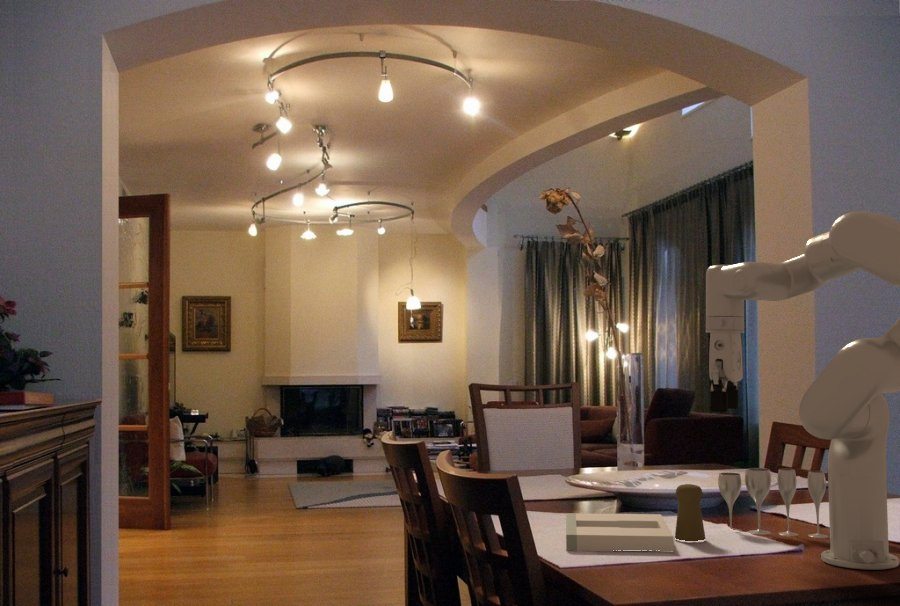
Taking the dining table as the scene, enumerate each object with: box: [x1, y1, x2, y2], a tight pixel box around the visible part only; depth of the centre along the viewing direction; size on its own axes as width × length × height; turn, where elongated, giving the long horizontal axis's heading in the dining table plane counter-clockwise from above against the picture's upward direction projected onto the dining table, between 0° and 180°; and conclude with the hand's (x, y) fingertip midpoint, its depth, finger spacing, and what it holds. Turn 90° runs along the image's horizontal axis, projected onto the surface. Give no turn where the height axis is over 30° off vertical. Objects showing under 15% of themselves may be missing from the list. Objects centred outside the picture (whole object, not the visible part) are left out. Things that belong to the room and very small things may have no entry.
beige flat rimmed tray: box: [565, 512, 675, 552], centre depth 188 cm, size 24×20×3 cm
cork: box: [674, 483, 706, 541], centre depth 187 cm, size 6×6×11 cm
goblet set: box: [717, 467, 830, 539], centre depth 192 cm, size 28×6×13 cm, turn 67°
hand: (724, 410), depth 190 cm, fingers open, 9 cm apart
